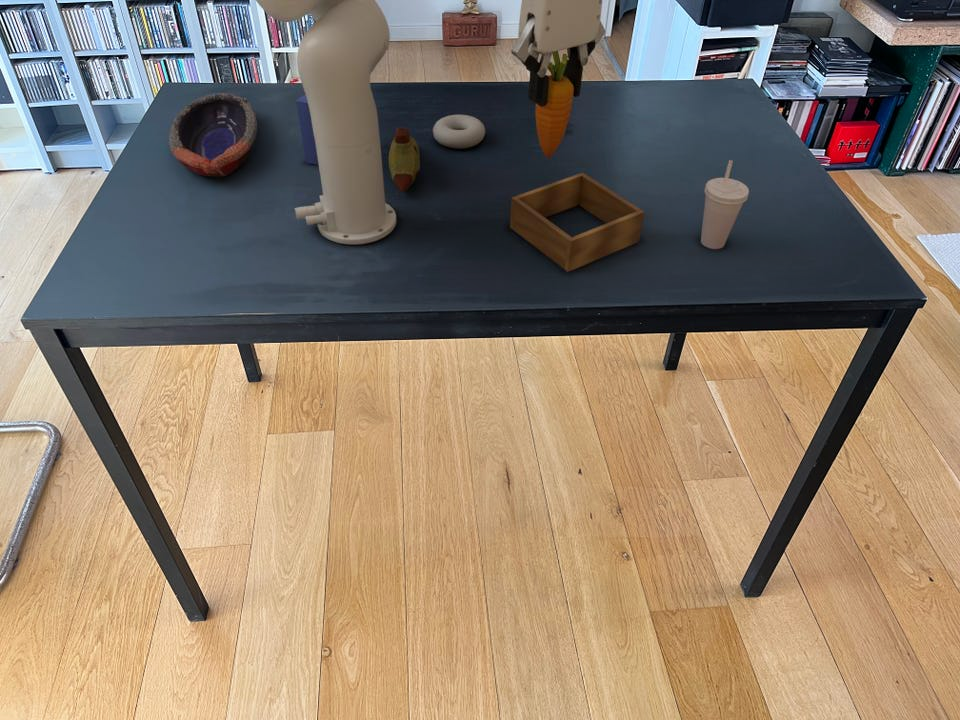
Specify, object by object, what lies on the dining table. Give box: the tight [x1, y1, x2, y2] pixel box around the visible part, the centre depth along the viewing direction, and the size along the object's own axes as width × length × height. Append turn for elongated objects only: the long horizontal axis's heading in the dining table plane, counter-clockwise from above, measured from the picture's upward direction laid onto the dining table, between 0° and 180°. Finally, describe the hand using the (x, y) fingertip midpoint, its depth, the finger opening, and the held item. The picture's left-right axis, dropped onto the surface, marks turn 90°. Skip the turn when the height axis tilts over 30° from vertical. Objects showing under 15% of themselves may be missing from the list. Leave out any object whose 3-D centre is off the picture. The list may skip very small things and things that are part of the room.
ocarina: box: [388, 126, 421, 193], centre depth 127 cm, size 20×5×10 cm, turn 2°
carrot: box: [534, 51, 574, 159], centre depth 99 cm, size 5×5×15 cm
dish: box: [168, 92, 258, 178], centre depth 135 cm, size 16×31×5 cm, turn 9°
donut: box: [432, 114, 486, 149], centre depth 139 cm, size 10×4×10 cm
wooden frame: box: [509, 172, 645, 273], centre depth 115 cm, size 15×15×6 cm
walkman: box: [295, 93, 319, 166], centre depth 131 cm, size 8×3×12 cm, turn 161°
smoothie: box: [700, 159, 750, 250], centre depth 111 cm, size 6×6×14 cm
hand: (554, 96), depth 98 cm, fingers closed on carrot, 5 cm apart
